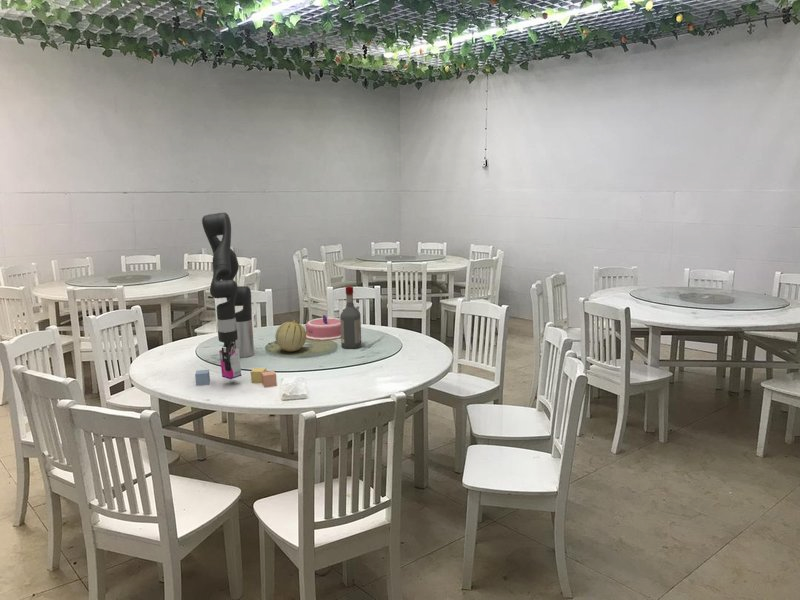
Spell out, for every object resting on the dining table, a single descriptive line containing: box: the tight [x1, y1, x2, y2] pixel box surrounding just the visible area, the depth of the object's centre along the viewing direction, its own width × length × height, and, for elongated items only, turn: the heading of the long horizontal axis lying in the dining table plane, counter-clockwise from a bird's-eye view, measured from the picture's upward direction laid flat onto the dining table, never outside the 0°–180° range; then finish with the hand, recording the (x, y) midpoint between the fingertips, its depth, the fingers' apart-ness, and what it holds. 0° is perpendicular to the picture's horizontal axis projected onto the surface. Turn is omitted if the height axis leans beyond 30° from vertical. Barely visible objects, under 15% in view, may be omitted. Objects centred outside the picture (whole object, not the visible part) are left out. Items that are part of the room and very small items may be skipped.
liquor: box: [339, 286, 362, 350], centre depth 296 cm, size 9×9×30 cm
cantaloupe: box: [274, 319, 307, 353], centre depth 292 cm, size 15×15×15 cm
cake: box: [305, 314, 341, 342], centre depth 323 cm, size 25×25×11 cm
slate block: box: [194, 369, 211, 387], centre depth 249 cm, size 5×5×5 cm
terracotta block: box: [261, 370, 278, 388], centre depth 245 cm, size 5×5×5 cm
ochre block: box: [250, 367, 267, 384], centre depth 250 cm, size 5×5×5 cm
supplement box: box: [218, 348, 242, 380], centre depth 246 cm, size 6×6×12 cm
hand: (230, 367), depth 247 cm, fingers closed on supplement box, 8 cm apart
